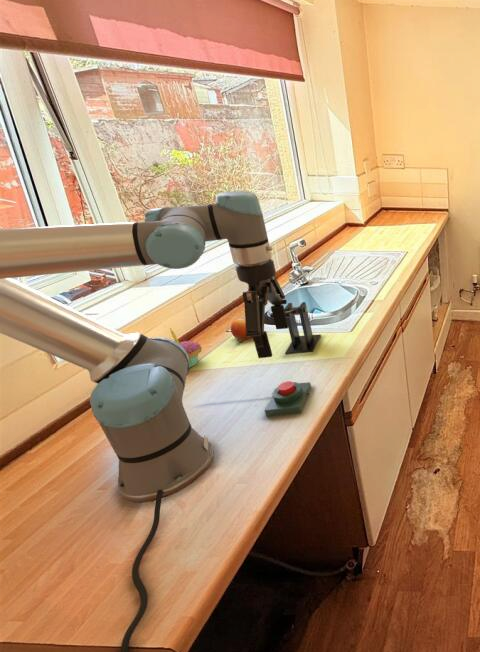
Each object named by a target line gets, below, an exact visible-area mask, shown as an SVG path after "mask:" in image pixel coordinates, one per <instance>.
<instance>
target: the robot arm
mask: <svg viewBox="0 0 480 652" xmlns="http://www.w3.org/2000/svg"><path fill="white" fill-rule="evenodd" d="M215 200H216V201H215V203H209V204H199V205H198V204H197V205H183V206H181V205H180V206H164V207H160V208H151V209H148V210H146V212H145V213H144V221H140V222H139V221H138V222H135V221H133V222H132V221H130V222H112V223H110V222H109V223H93V224H72V225H71V224H69V225H51V226H34V227H33V226H32V227H12V228H0V334H2V335H3V336H6V337H8V338H11V339H13V340H16V341H18V342H20V343H23V344H25V345H28V346H30V347H32V348H35V349H37V350H40V351H42V352H44V353H46V354H49V355H51V356H53V357H56V358H58V359H61V360H63V361H66V362H67V363H70V364H73V365H75V366H78V367H80V368H82V369H84V370H87V372H88V373H89V378H90V381H91V382H93V383H95V384H96V386H95V387H94V388H93V389H92V391H91V393H90V396H89V403H90V406H91V412H92V415H93V417H94V418H95V420H96V421H97V423H98V424H99V426H100V428H101V429H102V431H103V434H104V435H105V437H106V439H107V441H108V443H109V444H110V446H111V447H112V450H113V452H114V453H115V455H116V457H117V459H118V477H117V479H118V480H117V489H118V490H119V492H120V494H121V496H122V497H123V498H124V499H125V500H126V501H128V502H131V503H137V504H139V503H141V504H142V503H143V504H144V503H150V502H154V501H155V502H154V503H155V504H154V511H153V522H152V525H151V529H150V531H149V533H148V535H147V537H146V539H145V540H144V543H143V544H142V546H141V548H140V550H138V553H137V554H136V557H135V559H134V561H133V564H132V565H133V566H132V570H131V577H132V582H133V585H134V587H135V588H136V591H137V592H138V596H139V598H140V599H139V600H140V603H139V608H138V610H137V614H135V616H134V618H133V620H132V621H131V623H130V624H129V626H128V628H127V629H126V631H125V633H124V636H123V637H122V641H121V646H120V652H129V649H130V640H131V639H132V635H133V633H134V631H135V629H136V628H137V627H138V624H139V623H140V622H141V620H142V618H143V616H144V615H145V613H146V610H147V606H148V591H147V589H146V587H145V585H144V583H143V581H142V579H141V577H140V566H141V563H142V559H143V557H144V555H145V553H146V551H147V549H148V548H149V546H150V544H151V542H152V541H153V539H154V537H155V535H156V532H157V530H158V527H159V523H160V517H161V506H162V500H163V499H165V498H167V497H170V496H172V495H174V494H177V493H178V492H181V491H183V490H184V489H185V488H187V487H189V486H191V485H192V484H193V483H194V482H196V481H197V480H199V478H201V477H202V476H203V475H204V474H205V473H206V472H207V471H208V469H209V468H210V466H211V464H212V462H213V460H214V455H215V453H214V450H213V447H212V444H211V443H210V441H209V437H207V436H206V435H203V436H201V435H200V434H199V433H198V432H197V431H196V430H195V429H194V428H193V427H192V424H191V422H190V419H189V416H188V415H187V412H186V409H185V407H184V404H183V398H184V397H183V396H184V391H185V388H186V382H187V377H188V375H189V372H190V368H189V358H188V355H187V352H186V351H185V349H184V348H183V347H182V346H181V345H180V344H178V343H177V342H175V340H172V339H171V338H167V337H159V336H158V337H148V336H146V335H144V334H142V333H140V332H134V333H123V332H120V331H118V330H116V329H114V328H113V327H111V326H108V325H106V324H104V323H103V322H100V321H98V320H97V319H94V318H92V317H90V316H88V315H87V314H84V313H82V312H80V311H78V310H76V309H74V308H72V307H70V306H68V305H66V304H64V303H62V302H60V301H57V300H56V299H53V298H52V297H49V296H47V295H46V294H44V293H42V292H39V291H37V290H35V289H33V288H31V287H29V286H27V285H25V284H23V283H22V282H19V281H17V280H15V279H14V278H25V277H35V276H45V275H46V276H48V275H56V274H57V275H58V274H68V273H78V272H89V271H90V272H91V271H96V270H97V271H99V270H109V269H111V270H112V269H121V268H131V267H132V268H133V267H143V266H152V265H153V266H154V265H158V266H160V267H164V268H167V269H171V270H179V269H186V268H188V267H191V266H193V265H194V264H196V263H197V262H198V261H199V260H200V258H201V256H203V254H204V252H205V250H206V242H213V241H214V242H215V241H222V240H227V242H228V247H229V251H230V255H231V259H232V262H233V263H234V264H235V265H234V269H235V272H236V276H237V279H238V280H239V281H240V282H242V283H245V284H247V286H248V288H247V291H243V292H242V298H243V302H244V318H245V323H246V336H247V337H251V336H253V337H252V340H253V343H254V347H255V350H256V351H255V352H256V354H257V357H258V359H264V358H265V359H266V358H272V356H273V352H272V347H271V344H270V342H269V341H270V340H269V336H268V333H267V331H266V330H265V315H266V314H265V312H266V306H267V305H268V302H269V303H270V304H271V306H270V309H271V313H272V314H273V318H272V319H273V322H274V325H275V329H276V330H285V329H289V328H288V323H287V319H286V315H285V310H284V309H285V306H284V305H287V304H288V303H287V302H288V301H287V299H286V295H285V293H284V291H283V289H282V287H281V285H280V284H279V281H278V279H277V277H276V274H277V271H276V266H275V262H274V260H273V259H272V258H273V255H272V251H273V246H271V245H270V243H269V241H270V240H269V237H268V233H267V228H266V224H265V219H264V214H263V211H262V208H261V205H260V204H261V203H260V201H259V197H258V195H256V194H255V193H254V192H252V191H247V190H233V191H225V192H221V193H217V195H216V196H215Z"/></svg>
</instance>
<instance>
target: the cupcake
mask: <svg viewBox="0 0 480 652" xmlns="http://www.w3.org/2000/svg"><path fill="white" fill-rule="evenodd" d="M169 330H170V333H171V335H172V338H173V339H174V340H173V341H175V342H177V343H178V344H180V345H181V346H182V347H183V348H184V349H185V351H186V352H187V355H188V358H189V369H190V368H192V367H194V366H196V365H197V364H198V358H199V354H200V353H201V352H202V351H203V349H202V348H203V347H202V345H201V344H200V343H198V342H196V341H193V340H184V341H179V339H178V337H177V335H176V333H175V331H174V330H172V328H171V327H170V328H169Z"/></svg>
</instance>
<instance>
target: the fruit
mask: <svg viewBox="0 0 480 652" xmlns="http://www.w3.org/2000/svg"><path fill="white" fill-rule="evenodd" d="M230 333H231V334H232V336H233V337H234V338H235V339H237V340H238V341H240V342H239V343H240V344H242V343H243V341H246V340H250V339H253V336H251V337H247V336H246V323H245V317H240V318H238V319H235V320H233V321H232V322H231V325H230Z"/></svg>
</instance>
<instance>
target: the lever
mask: <svg viewBox="0 0 480 652" xmlns="http://www.w3.org/2000/svg"><path fill="white" fill-rule="evenodd" d="M299 306H300V305H297V306H293V307H291V308H290V311H286V312H285V315H286V317H291V315H295V316H300V315H299V310H298V308H299ZM269 317H270V319H274V318H273V314H272V312H271V313H269Z"/></svg>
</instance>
